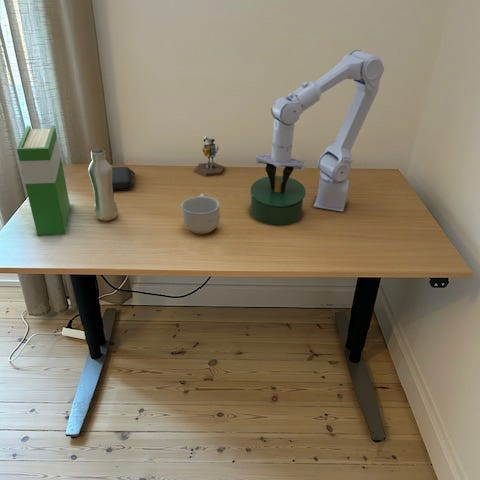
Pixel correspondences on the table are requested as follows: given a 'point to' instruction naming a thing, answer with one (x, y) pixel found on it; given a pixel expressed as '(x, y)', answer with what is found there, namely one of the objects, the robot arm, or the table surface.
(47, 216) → the hardback book
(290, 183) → the tin lid
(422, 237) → the table surface
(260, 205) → the tin
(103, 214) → the plastic bottle
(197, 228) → the teacup
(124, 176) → the carrying case
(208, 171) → the robot figurine
